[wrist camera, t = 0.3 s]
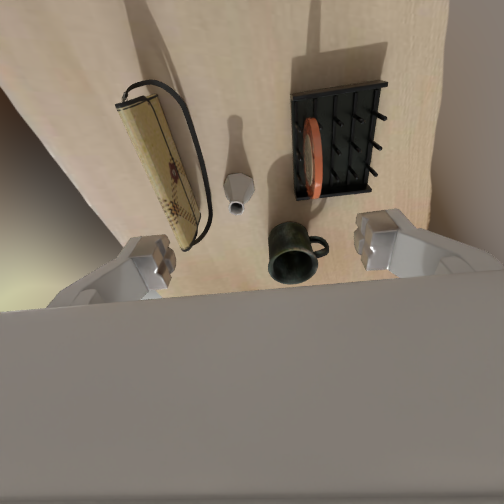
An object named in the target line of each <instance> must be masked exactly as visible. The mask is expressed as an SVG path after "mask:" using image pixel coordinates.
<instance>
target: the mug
mask: <svg viewBox="0 0 504 504" xmlns="http://www.w3.org/2000/svg"><path fill="white" fill-rule="evenodd" d="M311 243H320V244H322V245H323V246H324V247H325V248H324V249H321V250H319V251H315V252H313V250H312V246H311ZM268 244H269V260H270V261H269V264H268V271H269V274H270V275H271V277H272V278H273V279H274V280H276V281H278V282H280V283H283V284H299V283H302V282H305V281H306V280H308V279H310V278H311V277H312V276H313V275H314V274H315V273H316V271H317V268H318V260H317V258H320V257H323V256H325V255H327V254H328V253H329V245H328V243H327V242H326V240H324V239H323V238H321V237H318V236H308V232H307V230H306V229H305V228H304V227H303V226H302V225H300V224H297V223H292V222H287V223H283V224H280V225H278V226H276V227H275V228H274V229H273V230H272V231H271V232H270V234H269V237H268Z"/></svg>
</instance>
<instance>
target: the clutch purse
mask: <svg viewBox="0 0 504 504" xmlns="http://www.w3.org/2000/svg"><path fill="white" fill-rule="evenodd" d="M144 85H155V86H158V87H161V88H163V89H164V90H166V91H167V92H168V93H170V94H171V95H172V96H173V97H174V98H175V99H176V100H177V102H178V103H179V104H180V106H181V108H182V110H183V113H184V116H185V118H186V121H187V124H188V127H189V130H190V133H191V136H192V139H193V142H194V145H195V148H196V152H197V155H198V159H199V162H200V166H201V170H202V175H203V180H204V185H205V191H206V196H207V203H208V210H209V217H208V222H207V225H206V227H205V229H204V231H203V232H202V234H201V235H200V236H199V237H198V238H197V239H196V236H197V233H198V225H199V222H200V219H201V213H200V212H199V209H198V207H197V204H196V201H195V199H194V196H193V193H192V190H191V188H190V185H189V182H188V179H187V177H186V174H185V171H184V169H183V166H182V163H181V160H180V158H179V155H178V152H177V149H176V147H175V144H174V141H173V139H172V136H171V133H170V130H169V128H168V125H167V122H166V119H165V117H164V114H163V111H162V109H161V106H160V103H159V100H158V98H157V96H158V95H157V94H153V95H150V96H146V97H145V96H140V97H137V98H135V99H132V100H129V101H128V100H127V101H126V102H125V100H126V99H127V97H128V92H129V91H130V90H132V89H134V88H137V87H140V86H144ZM122 98H123V102H122V103H118V104H115V107H116V108H117V111H118V113H119V115H120V117H121V119H122V121H123V123H124V126H125V128H126V130H127V132H128V134H129V136H130V139H131V141H132V143H133V145H134V147H135V149H136V152H137V154H138V156H139V158H140V160H141V163H142V165H143V167H144V169H145V171H146V173H147V176H148V178H149V180H150V182H151V184H152V186H153V189H154V191H155V193H156V195H157V197H158V200H159V202H160V204H161V206H162V208H163V210H164V213H165V215H166V217H167V219H168V221H169V223H170V226H171V228H172V230H173V232H174V234H175V237H176V239H177V241H178V243H179V245H180V248H181V250H182V251H183V252H186V251H189V250H190V249H191V247H192V246H193V245H195V244H197V243H198V242H200V241H201V240H202V239H203V238H204V237H205V235H206V234H207V232H208V230H209V228H210V226H211V223H212V217H213V210H212V202H211V196H210V189H209V184H208V178H207V173H206V169H205V164H204V160H203V157H202V153H201V150H200V146H199V143H198V140H197V136H196V133H195V130H194V127H193V124H192V121H191V118H190V115H189V112H188V110H187V107H186V105H185V103H184V101H183V100H182V99H181V97H180V96H179V95H178V94H177V93H176V92H175V91H174V90H173V89H172V88H170V87H169V86H168V85H166V84H164V83H162V82H160V81H157V80H145V81H141V82H137V83H134V84H132V85H131V86H130V87H129V88H128V89H127V90H126V92H124V94H123V97H122ZM195 239H196V240H195Z"/></svg>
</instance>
